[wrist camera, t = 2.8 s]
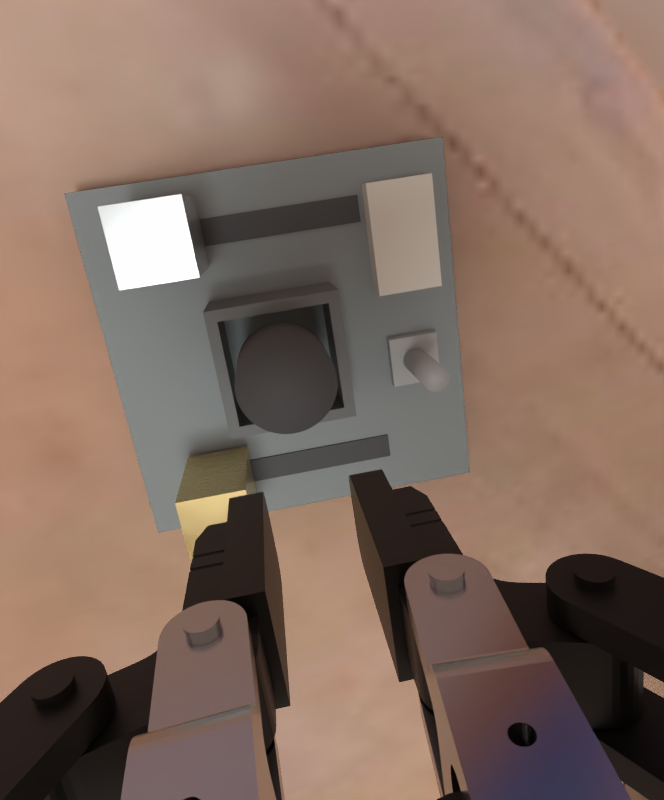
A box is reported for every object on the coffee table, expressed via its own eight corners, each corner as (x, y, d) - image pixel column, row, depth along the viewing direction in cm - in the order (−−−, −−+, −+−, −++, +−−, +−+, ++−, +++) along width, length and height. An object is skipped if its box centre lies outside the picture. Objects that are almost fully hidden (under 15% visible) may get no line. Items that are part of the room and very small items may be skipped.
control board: (430, 142, 29) (475, 122, 23) (457, 458, 34) (500, 508, 28) (77, 195, 27) (28, 189, 21) (163, 514, 33) (143, 579, 27)
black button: (321, 314, 25) (329, 326, 22) (334, 401, 26) (344, 424, 23) (228, 330, 25) (224, 344, 22) (246, 417, 26) (245, 442, 23)
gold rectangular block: (247, 446, 30) (245, 489, 25) (258, 498, 31) (258, 550, 26) (187, 457, 29) (174, 503, 25) (200, 509, 30) (190, 563, 26)
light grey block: (194, 198, 26) (181, 193, 21) (209, 266, 27) (199, 277, 22) (126, 208, 26) (97, 206, 21) (143, 277, 27) (119, 290, 22)
